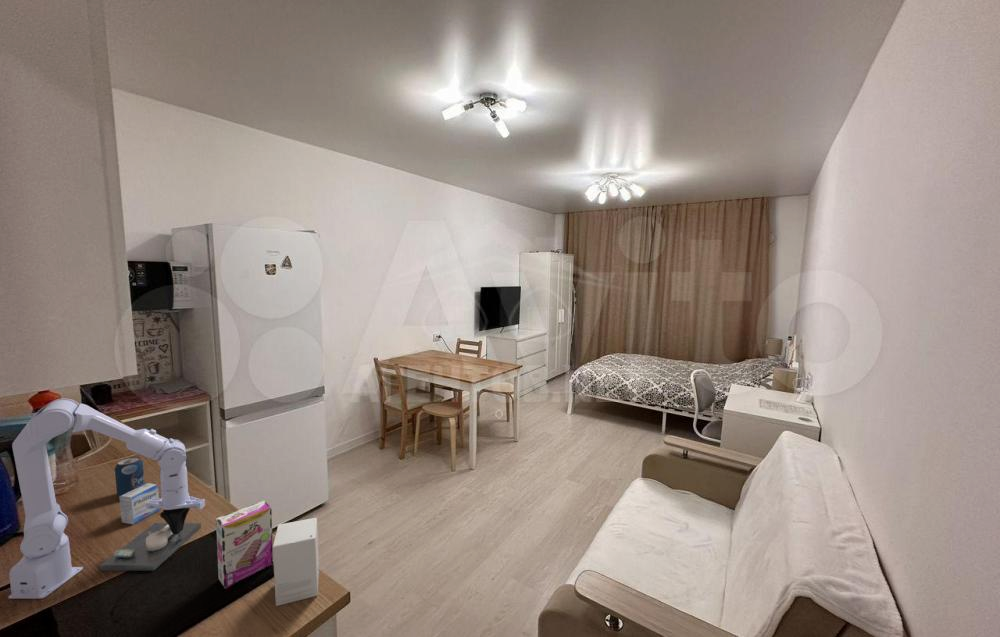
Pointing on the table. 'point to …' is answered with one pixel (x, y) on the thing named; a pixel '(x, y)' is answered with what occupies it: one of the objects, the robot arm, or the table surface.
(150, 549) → the white long bulbous piece
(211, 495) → the table surface
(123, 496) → the medicine box
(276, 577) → the supplement box
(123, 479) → the soda can
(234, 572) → the candy bar box
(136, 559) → the base plate
